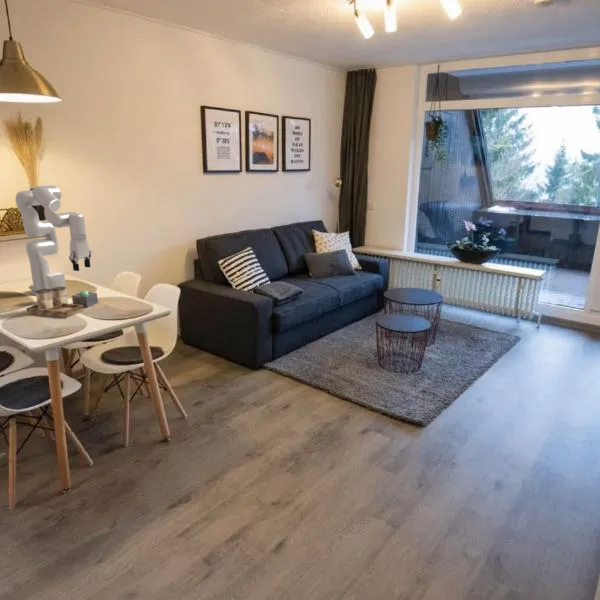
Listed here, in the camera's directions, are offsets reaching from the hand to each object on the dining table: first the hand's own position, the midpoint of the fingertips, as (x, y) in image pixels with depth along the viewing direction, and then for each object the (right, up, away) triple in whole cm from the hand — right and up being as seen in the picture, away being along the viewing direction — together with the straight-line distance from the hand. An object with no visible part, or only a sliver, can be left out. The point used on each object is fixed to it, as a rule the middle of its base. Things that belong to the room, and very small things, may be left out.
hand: (82, 268), depth 262 cm
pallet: (-10, -23, -8) cm, 27 cm away
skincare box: (-19, -17, +13) cm, 29 cm away
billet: (-13, -20, +4) cm, 24 cm away
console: (0, -20, +5) cm, 20 cm away
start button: (0, -17, +5) cm, 18 cm away
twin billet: (-16, -21, -7) cm, 28 cm away
